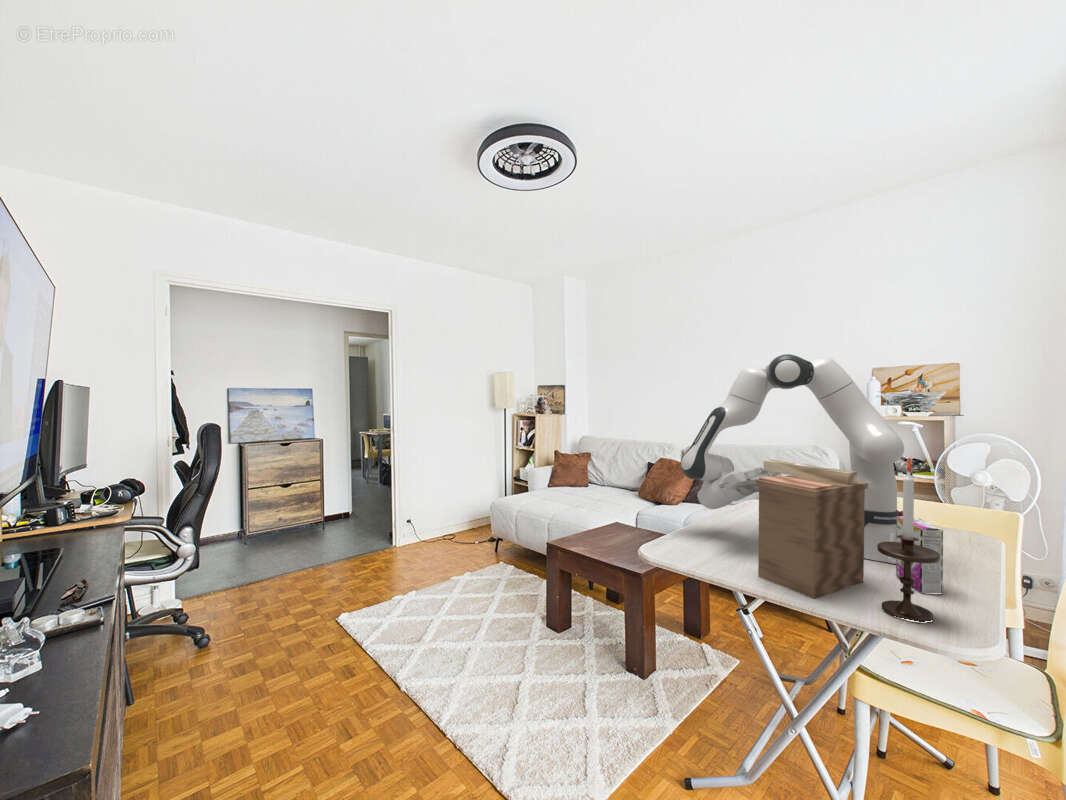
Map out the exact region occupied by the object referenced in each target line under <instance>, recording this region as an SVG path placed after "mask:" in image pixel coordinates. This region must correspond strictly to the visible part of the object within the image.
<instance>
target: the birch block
mask: <svg viewBox="0 0 1066 800" xmlns="http://www.w3.org/2000/svg"><path fill="white" fill-rule="evenodd" d="M762 469H763V470H764V471H770V472H776V473H781V475H782V474H783V475H786V476H790V475H793V476H799V477H805V478H811V479H817V480H822V481H828V482H834V483H840V484H846V485H850V484H856V483H857V472H855V471H851V470H848V469H847V470H846V469H841V468H835V467H830V466H823V465H822V466H821V465H816V464H809V463H798V462H793V461H792V462H791V461H783V460H777V459H764V460H763V466H762Z"/></svg>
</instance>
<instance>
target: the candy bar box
mask: <svg viewBox="0 0 1066 800" xmlns="http://www.w3.org/2000/svg"><path fill="white" fill-rule="evenodd" d="M898 535H903V516H897V536H898ZM897 536H896V537H897ZM913 537H915V538H918V539H919V541H914V545H918V546H922V547H926V548H929V549H932V550H934V551H936V552H938V553H939V554H940V561H939V562H936V563H917V562H911V578H913V579H914V580H915V584H914V585H913V586H912V589H914V588H915V591H917V590H918V591H917V592H919V593H920V592H921V593H920V594H922V593H942V594H943V585H944V584H943V583H944V582H943V575H944V573H943V572H944V571H943V570H944V569H943V563H944V562H943V561H944V560H943V559H944V558H943V557H944V556H943V555H944V542H943V541H944V529H942V528H941V527H938V526H936V525H934V524H931V523H929V522H928V521H925V520H923V519H921V518H919V517H917V516H914V523H913ZM896 542H901V543H902V539H900V538H898V537H897V540H896ZM895 565H896V569H895V570H896V571H895V573H896V574H895V576H896V577H897V578H898V579H899V578H900V577H902V576H904V561H902V560H899V559H896V564H895Z"/></svg>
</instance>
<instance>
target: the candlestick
mask: <svg viewBox="0 0 1066 800" xmlns="http://www.w3.org/2000/svg"><path fill="white" fill-rule="evenodd" d="M906 463H907V465H906V471H907V472H906V475H905V477H903V480H902V482H903V484H902V486H903V488H902V511H903V535H898V536H897V537H898V538H900V539H902V543H901V542H881V543H878V551H879V552H880V553H882V554H884V555H886V556H889V557H892V558H896V559H899V560H902V561H904V576H902V577H900V578H899V577H898V579H899V582H900V583H901V584H902V588H900V589H899V590H900V592H901V593H902V594H903V596H902V600H891V599H890V600H885V601H882V603H881V610H882V609H883V610H884V611H883V610H882V611H883V612H884V613H886V614H887V615H888V614H889V615H888V616H890V615H891V616H890V617H892V616H896V617H899V618H904V619H909V620H914V621H919V622H925V621H931V620H933V621H934V619H933V618H934V614H933V613H932V612H931V611H930V610H928V609H926V607H923V606H921V605H917V604H915V603H913V602H912V595H914V594H915V591H914V590H912V589H913V587H912V586H913V585H914V584H915V580H914V579H913V578H911V562H917V563H936V562H939V561H940V554H939V553H938V552H936V551H934V550H932V549H929V548H926V547H922V546H918V545H914V541H919V539H918V538H915V537H913V523H914V517H915V516H914V514H915V513H914V510H915V509H914V508H915V507H914V505H915V496H914V495H915V478H914V477H912V475H911V471H912V470H911V469H912V468H913V467H912V462H911V457H908V459H907V460H906Z"/></svg>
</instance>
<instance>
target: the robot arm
mask: <svg viewBox="0 0 1066 800" xmlns="http://www.w3.org/2000/svg"><path fill="white" fill-rule="evenodd" d="M800 386H804V387H806V388H808V389H809V390H810V391H811V393H812V394H813V395H814V397H815V398H816V400H817V401H818V402H819V404H820V405H821V406H822V409H824V411H825V412H826V413H827V415H828V417H829V418H830V419H831V420H832V422H833V423H834V424H835V426H837V428H838V429H839V430H840V432H842V434H843V435H844V436H845V438H846V439H847V440H848V441H849V442H848V443H849V447H848V448H849V460H850V461H849V463H850V469H851V470H850V471H855V472H857V481H859V482H865V483H868V489H865V504H864V559H867V560H872V561H876V562H882V563H883V562H884V563H889V564H894V565H896V558H892V557H889V556H886V555H884V554H882V553H880V552H879V551H878V543H881V542H896V540H897V537H896V536H897V516H903V510H901V511H899V510H898V482H897V478H896V473H895V467H894V464H895V463H897V462H898V461H900V459H902V457H903V456H904V454H905V453H904V452H905V445H904V442H903V440H902V439H901V437H900V436H899V434H898V433H897V432H896V431H895V430H894V428H893V427H892V426H891V425H890V423H888V421H886V419H885V418H884V417H883V416H882V415H881V413H880V412H879V411H878V410H877V408H875V406H873V404H871V402H870V401H869V400H868V398H867V397H866V396H865V395H864V393H863V392H862V390H861V389H860V388H859V386H858V385H857V384H856V382H855V381H854V380H853V379H852V377H851V376H850V375H849V374H848V372H847V371H846V370H845V369H844V368H843V367H842V366H841V365H840V364H839V363H838V362H836V361H835V360H834V359H832V358H830V357H820V358H817V359H815V360H813V361H809V360H806V359H805V358H803V357H800V356H798V355H795V354H790V353H787V354H781V355H779V356H778V355H777V357H775V358H773V359H772V360H771V361H770V362H769V364H768V365H766V366H765V367H764V368H763V367H762V368H761V367H757V366H747V367H744V368H742V369H741V370H740V372H739V373H738V374H737V376H736V378H735V380H734V382H733V383H732V386H731V388H730V389H729V392H728V394H727V396H726V398H725V400H724V401H723V402H722V403H721V404H720V405H719V406H718V407H716V408H714V409H713V410H712V411H711V412H710V414H709V415H708V417H707V418H706V419H705V421H704V423H703V424H702V427H701V428H700V429H699V431H698V434H697V435H696V436H695V439H694V440H693V442H692V444H691V445H690V446H689V448H688V449H687V450H686V451H685V453H684V454H683V456H682V457H681V460H680V467H681V471H682V473H683V474H684V476H686V478H687V479H690V480H698V481H703V483H702V486H701V488H700V489H699V490H698V492H697V495H696V496H697V499H698V501H699V502H700V504H701V505H702V506H703V507H705V508H706V509H709V510H717V509H718V510H719V509H720V508H724V507H727V506H729V505H730V504H732V503H733V502H738V501H740V500H743V499H745V498H747V497H749V496H751V495H753V494H755V493H759V486H756V480H759V478H761V477H769V476H777V475H779V476H783V475H782V474H781V473H776V472H770V471H764V470H763V467H756V468H754V469H747V470H740V469H739V470H738V469H735V466H734V463H733V462H732V460H731V459H730V458H728V457H726V456H723V455H718V454H713V453H709V451H710V449H711V447H712V445H713V444H714V442H715V440H716V439H717V438H718V436H719V434H720V433H721V432H722V431H723V430H726V429H728V428H733V427H737V426H739V427H740V426H744V425H747V424H749V423H752V422H754V420H755V419H756V418H757V417H758V415H759V413H760V412H761V408H762V406H763V404H764V401H765V400H766V397H767V395H768V393H769V392H770V391H771V390H772V389H782V390H790V389H793V388H797V387H800Z"/></svg>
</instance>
